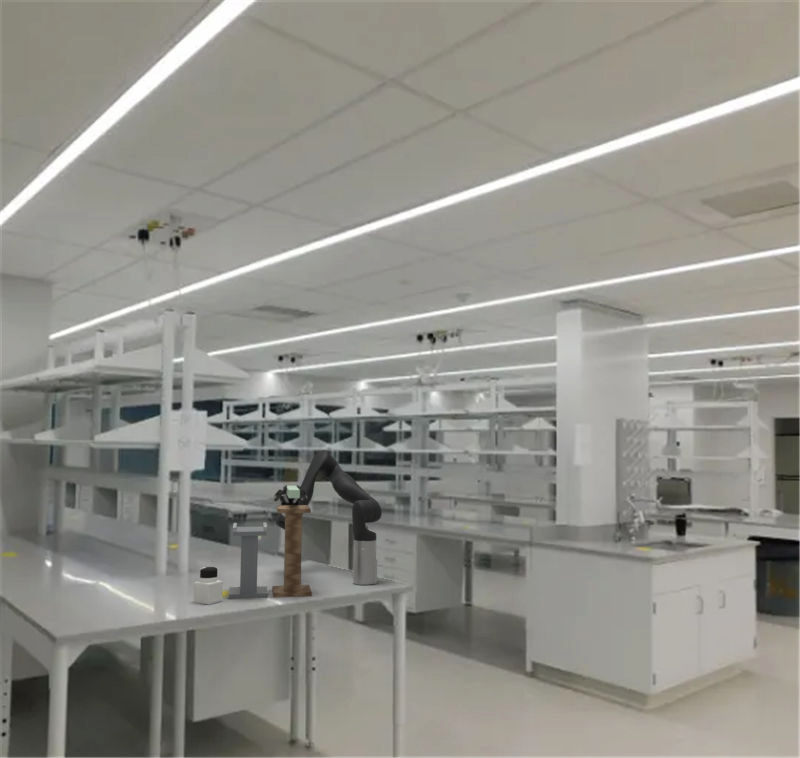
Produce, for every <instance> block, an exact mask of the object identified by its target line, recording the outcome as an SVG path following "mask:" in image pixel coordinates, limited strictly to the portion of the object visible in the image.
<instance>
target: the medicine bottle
mask: <svg viewBox="0 0 800 758" xmlns="http://www.w3.org/2000/svg"><path fill="white" fill-rule="evenodd" d="M218 572H219V571H218V568H217V567H214V566H204V567H201V568H200V569H199V580H196V581H195V582H193V583H194V584H193V585H194V586H193V603H195V604H200V605H201V604H202V605H207V606H208V605H211V604H216V603H219V602H223V580H219V579H218Z"/></svg>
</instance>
